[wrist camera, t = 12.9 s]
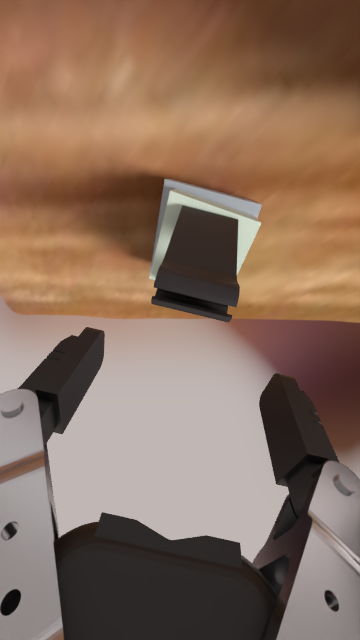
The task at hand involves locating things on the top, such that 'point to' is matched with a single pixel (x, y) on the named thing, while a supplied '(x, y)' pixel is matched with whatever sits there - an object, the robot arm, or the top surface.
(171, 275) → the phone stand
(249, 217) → the tower top block
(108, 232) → the top surface
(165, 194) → the tower base slab
